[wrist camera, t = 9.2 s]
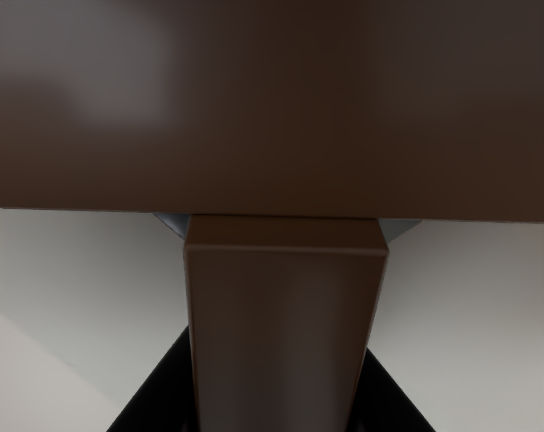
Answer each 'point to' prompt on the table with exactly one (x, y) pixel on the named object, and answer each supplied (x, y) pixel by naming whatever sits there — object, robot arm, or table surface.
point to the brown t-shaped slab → (276, 160)
